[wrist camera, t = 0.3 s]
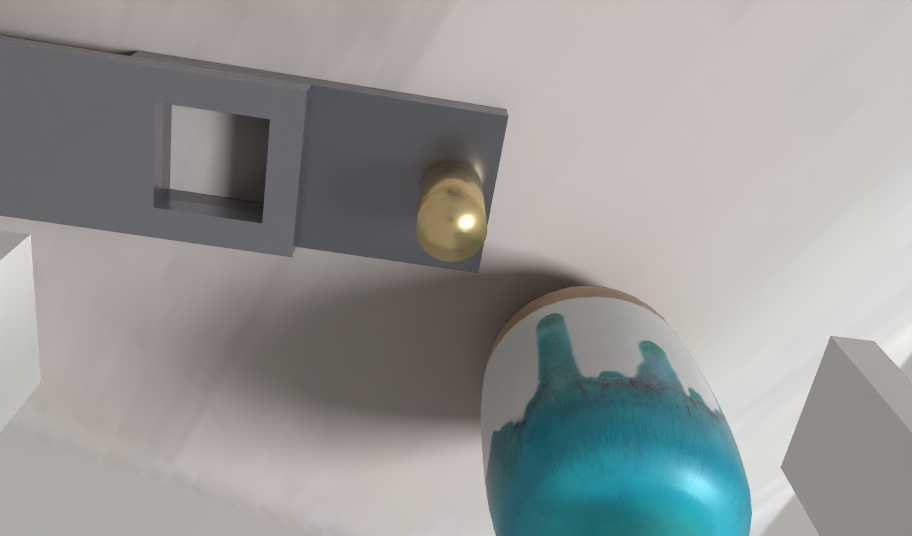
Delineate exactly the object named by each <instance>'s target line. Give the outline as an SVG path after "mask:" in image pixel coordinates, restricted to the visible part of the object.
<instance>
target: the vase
mask: <svg viewBox="0 0 912 536" xmlns="http://www.w3.org/2000/svg"><path fill="white" fill-rule="evenodd" d="M481 435H482V452H483V466H484V477H485V485H486V493H487V499H488V505H489V510H490V514H491V518H492V522H493V526H494V530H495V534H496V536H749V532H750V525H751V516H752V510H751V498H750V490H749V485H748V481H747V477H746V474H745V470H744V467H743V464H742V460H741V457H740V454H739V451H738V448H737V445H736V442H735V440H734V437H733V434H732V432H731V430H730V428H729V425H728V423H727V421H726V418H725V416H724V414H723V412H722V410H721V408H720V406H719V404H718V402H717V400H716V398H715V396H714V394H713V392H712V390H711V388H710V386H709V384H708V383H707V381H706V379H705V377H704V375H703V373H702V372H701V370H700V368H699V366H698V365H697V363H696V361H695V360H694V358H693V356H692V355H691V353H690V352H689V350H688V349H687V347H686V346H685V344H684V343H683V342H682V340H681V339H680V338H679V336H678V335H677V334H676V332H675V331H674V330H673V329H672V328H671V326H670V325H669V324H668V323H667V322H666V321H665V319H664V318H663V317H662V316H660V315H659V314H658V313H657V312H656V311H655V310H653V309H652V308H651V307H650V306H648V305H647V304H645V303H644V302H642V301H640V300H639V299H637V298H635V297H633V296H631V295H628V294H626V293H623V292H621V291H618V290H614V289H610V288H606V287H598V286H574V287H569V288H564V289H559V290H556V291H553V292H550V293H547V294H545V295H543V296H541V297H539V298H537V299H535V300H533V301H531V302H530V303H528V304H527V305H526V306H524V307H523V308H521V309H520V310H519V311H518V312H517V313H516V314H515V315H514V316H513V317H512V318H511V319H510V320H509V321H508V322H507V324H506V325H505V326H504V327H503V329H502V330H501V331H500V333H499V334H498V336H497V338H496V340H495V342H494V344H493V346H492V348H491V351H490V354H489V357H488V360H487V363H486V367H485V373H484V380H483V388H482V400H481Z"/></svg>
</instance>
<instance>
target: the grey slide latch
mask: <svg viewBox="0 0 912 536" xmlns="http://www.w3.org/2000/svg"><path fill="white" fill-rule="evenodd" d="M171 104H174V105H180V106H187V107H193V108H200V109H206V110H213V111H219V112H226V113H232V114H238V115H245V116H251V117H258V118H264V119H270V126H269V140H268V154H267V167H266V181H265V195H264V203H258V202H252V201H245V200H238V199H231V198H225V197H218V196H211V195H204V194H197V193H191V192H184V191H177V190H170V147H171ZM507 120H508V113H507V110H506V109H500V108H494V107H488V106H482V105H475V104H469V103H463V102H457V101H450V100H444V99H438V98H431V97H425V96H419V95H413V94H406V93H400V92H394V91H388V90H381V89H375V88H369V87H363V86H356V85H350V84H344V83H338V82H331V81H325V80H319V79H313V78H306V77H300V76H294V75H288V74H281V73H275V72H269V71H263V70H256V69H250V68H244V67H238V66H231V65H225V64H219V63H212V62H206V61H200V60H194V59H187V58H181V57H175V56H169V55H162V54H156V53H150V52H144V51H138V52H136V53H134V54H133V55H131V56H126V55H120V54H114V53H107V52H101V51H95V50H88V49H82V48H76V47H70V46H63V45H57V44H51V43H45V42H38V41H32V40H26V39H19V38H13V37H7V36H1V35H0V215H1V216H8V217H15V218H22V219H29V220H36V221H43V222H50V223H57V224H64V225H71V226H78V227H85V228H92V229H99V230H106V231H113V232H120V233H127V234H134V235H141V236H148V237H155V238H162V239H169V240H176V241H183V242H190V243H197V244H204V245H211V246H218V247H225V248H232V249H239V250H246V251H253V252H260V253H267V254H274V255H281V256H288V257H292V256H293V254H294V251H295V249H296V247H302V248H309V249H316V250H323V251H330V252H337V253H344V254H351V255H358V256H365V257H371V258H378V259H385V260H392V261H399V262H406V263H413V264H420V265H427V266H434V267H441V268H448V269H455V270H462V271H469V272H476V273H478V270H479V265H480V260H481V255H482V250H483V245H484V241H485V239H486V235H487V224H488V219H489V214H490V208H491V203H492V198H493V193H494V188H495V182H496V177H497V172H498V167H499V162H500V157H501V151H502V146H503V141H504V136H505V131H506V126H507Z"/></svg>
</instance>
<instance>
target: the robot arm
mask: <svg viewBox="0 0 912 536" xmlns="http://www.w3.org/2000/svg"><path fill="white" fill-rule="evenodd" d="M40 383H41V379H40V364H39V350H38V336H37V322H36V307H35V293H34V279H33V265H32V250H31V236H30V234H22V233H14V232H6V231H0V433H1V431H2V430H3V429H4V428H5V426H6V425H7V424H8V423H9V421H10V420H11V419H12V418H13V416H14V415H15V414H16V413H17V411H18V410H19V409H20V408H21V406H22V405H23V404H24V403H25V401H26V400H27V399H28V398H29V396H30V395H31V394H32V393H33V391H34V390H35V389H36V388H37V386H38V385H39V384H40ZM781 469H782V470H783V472H784V474H785V476H786V477H787V479H788V481H789V483H790V484H791V486H792V488H793V490H794V491H795V493H796V495H797V497H798V498H799V500H800V502H801V504H802V506H803V507H804V509H805V511H806V513H807V514H808V516H809V518H810V520H811V521H812V523H813V525H814V527H815V528H816V530H817V532H818V534H819V536H912V382H911V381H910V380H909V379H908V378H907V376H906V375H905V374H904V373H903V372H902V371H901V370H900V369H899V368H898V367H897V366H896V365H895V363H894V362H893V361H892V360H891V359H890V358H889V357H888V356H887V355H886V354H885V353H884V352H883V350H882V349H881V348H880V347H879V346H878V345H877V344H876V343H875V342H874V341H866V340H858V339H851V338H843V337H835V336H831V337H830V339H829V342H828V345H827V347H826V350H825V352H824V355H823V358H822V360H821V363H820V366H819V368H818V371H817V373H816V376H815V379H814V381H813V384H812V387H811V389H810V392H809V394H808V397H807V400H806V402H805V405H804V408H803V410H802V413H801V416H800V418H799V421H798V423H797V426H796V429H795V431H794V434H793V437H792V439H791V442H790V444H789V447H788V450H787V452H786V455H785V458H784V460H783V463H782V465H781Z"/></svg>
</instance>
